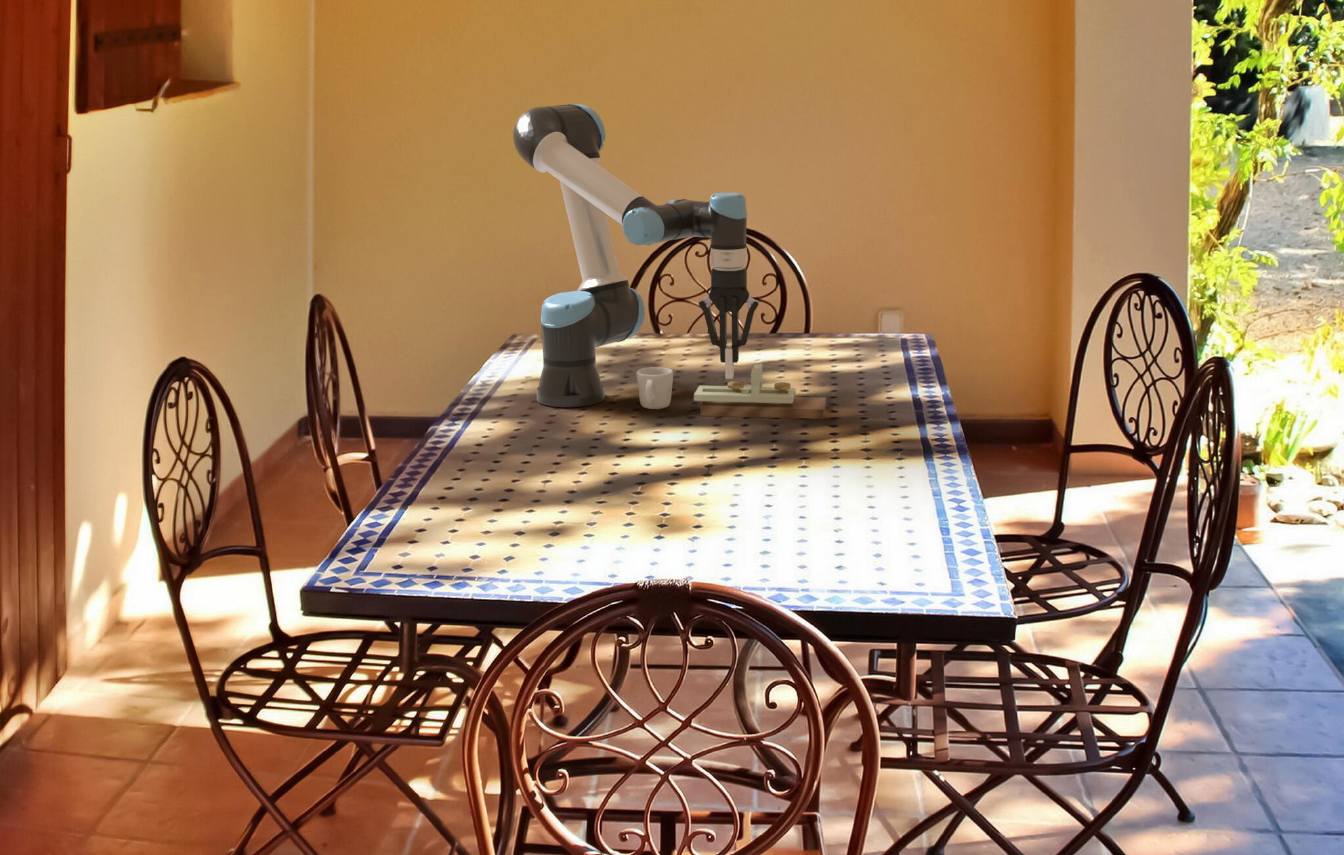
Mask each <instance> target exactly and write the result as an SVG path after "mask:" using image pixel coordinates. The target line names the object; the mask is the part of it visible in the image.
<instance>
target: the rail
mask: <svg viewBox="0 0 1344 855" xmlns="http://www.w3.org/2000/svg"><path fill="white" fill-rule="evenodd" d="M727 386H728V388H732V392H734V393H740V388H743V387H745V384H744V382H743V381H739V380H738V381H737V380H736V381H729V382H727ZM773 387H774V388H775V389H778V390H779V394H786V390H788V389H790V388H791V383H789V382H783V381H782V382H775V383H774V386H773ZM699 408H700V413H699V414H700V416H705V417H706V416H707V417H708V416H709V417H711V416H713V417H737V418H738V417H740V418H741V417H743V418H745V417H747V418H748V417H749V418H777V419H779V418H780V419H781V418H782V419H783V418H784V419H816V420H817V419H818V420H819V419H820V420H823V419H824V416H825V412H826V408H827V398H826V397H812V396H811V397H807V396H806V397H805V396H795V398H794V401H793V403H756V402H717V401H701V405H700V407H699Z"/></svg>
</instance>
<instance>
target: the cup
mask: <svg viewBox="0 0 1344 855" xmlns="http://www.w3.org/2000/svg"><path fill="white" fill-rule="evenodd" d="M636 381H637V388H638V398H639V403H640V405H641V406H642V408H645V409H649V410H660V409H665V408H667V407H669V406H670V404H671V401H672V393H673V391H672V389H673V381H674V371H673V369H671V368H669V367H663V366H662V367H661V366H651V367H650V366H649V367H643V368H640V369H638V370H637V371H636Z"/></svg>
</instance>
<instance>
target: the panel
mask: <svg viewBox="0 0 1344 855" xmlns="http://www.w3.org/2000/svg"><path fill="white" fill-rule="evenodd" d="M796 390H797V389H796V387H790V389H788V390H786V394H779V390H778V389H775V388H774V386H763V363H754V365H753V367H752V369H751V371H750V386H744V387H743V388H740V393H734V392H732V388H728V385H699V384H698V387H697V389H696V390H695V391H694V394H693V401H694V402H703V401H717V402H756V403H793V401H794V398H795V397H796V393H797V392H796Z"/></svg>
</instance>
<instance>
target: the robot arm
mask: <svg viewBox="0 0 1344 855" xmlns="http://www.w3.org/2000/svg"><path fill="white" fill-rule="evenodd" d="M512 139H513V140H512V141H513V145H514V148H515V150H516V151H517V153H518V155H519V157H520V158H521V159H523V160H524V162H525V163H527V165H529V166H530V167H532V168H533V169H534V170H536V171H537V172H539V173H548V174H550V175H551V176H552V177H554V178H556V179H557V180H558V181H559V183H560V188H561V192H562V198H563V201H564V206H565V211H566V215H567V219H568V223H569V228H570V232H571V236H572V241H573V244H574V249H575V254H576V259H577V263H578V267H579V271H580V277H581V279H582V281H581V283H580V285H579V286H578V288H577V290H571V291H567V292H566V291H565V292H564V291H563V292H559V293H556V294H553V295H550V296H549V297H547V298H546V299H544V300H543V302H542V305H541V315H540V323H541V340H542V344H541V345H542V359H543V362H542V364H543V365H542V366H543V367H542V370H541V374H540V378H539V382H538V387H537V388H536V401H537V402H538V403H539V404H540V405H544V406H548V407H555V408H578V407H587V406H591V405H592V406H593V405H595V404H599V403H601V402H603V401H604V400H605V399H606V398H605V396H606V395H605V394H606V392H605V391H606V390H605V386H604V384H602V381H601V377H600V376H601V375H600V373H599V372H600V371H599V370H598V367H597V358H596V357H597V356H596V354H597V353H596V348H599V347H602V346H606V345H610V344H611V345H612V344H615V343H620V342H624V341H626V340H627V339H631V338H633V337H634V336H636V335H637V334H638V332H639V331H640V330H641V328H642V326H643V325H644V321H645V315H646V307H645V303H644V300H643V298H642V296H641V294H639V293H638V292H637V290H635V289H634V288H631V287H630V283H629V279H628V277H626V276H624V275H623V274H621V272H620V270H619V264H618V260H617V257H616V252H615V247H614V244H613V239H612V233H611V230H610V224H609V221H608V217H609V218H612V219H613V220H614V221H616V222H617V223H618V224H620V225H621V228H622V231H623V234H624V235H625V237H626V240H627V241H628V242H629V243H631V244H633V245H635V246H652V245H655V244H659V243H664V242H667V241H668V242H669V241H673V240H679V239H684V238H690V237H693V238H694V237H695V238H697V237H698V238H708V239H710V266H711V267H712V268H711V270H710V290H709V292H708V296H706V297H705V298H702V299H700V301H698V306H699V308H700V309H701V311H702V312H703V316H704V318H705V323H706V327H707V331H708V335H709V339H710V342H711V345H712V346H716V347H718V348H719V355H720V356H719V357H720V359H719V361H720V363H722V364H723V363H724V367H725V368H724V369H725V372H724V373H725V374H724V375H725V377H724V378H725V380H733V378H734V377H735V375H734V374H735V369H734V368H735V364H737V363H738V362H739V359H740V358H739V357H740V352H739V351H740V347H742V346H743V347H744V346H746V345H747V343H748V339H749V335H750V331H751V327H752V323H753V319H754V314H755V311H756V310H757V308H758V306H759V305H760V300H758V299H755V298H753V297H751V296H750V291H749V290H748V287H747V286H748V280H747V279H748V277H747V276H748V270H747V269H746V268H745V267H746V266H747V264H748V263H747V262H748V257H747V254H748V252H747V249H748V248H747V224H748V221H747V220H748V213H747V201H746V196H745V195H744V194H743V193H739V192H715V193H713V194H711V195H710V198H709V201H701V200H690V199H687V198H681V199H671V200H669V201H667V202H666V203H664V204H655V203H654V202H652V201H651V200H649V198H646V197H644V196H643V195H642V194H640V193H639V192H637V191H636V190H635V189H634V188H632V187H630V185H628V184H627V183H625V182H624V181H622V180H621V179H620V178H618V177H616V176H615V175H614V174H612V173H611V172H609V171H608V170H606V169H605V168H604V167H602V166H601V165H599V163H600V162H601V160H602V159H601V156H600V151H602V149H603V147H604V142H605V141H606V129H605V126H604V123H603V120H602V118H601V117H600V115H599V114H598V113H597V112H596V111H595V110H594V109H592V108H591V107H590V106H588V105H584V104H574V103H568V104H561V105H560V104H559V105H550V106H536V107H533V108H532V107H531V108H530V109H527V110H526V111H524V112H523V113H522V114H521V115H520V116H519V117H518V118H517V120H516V122H515V124H514V126H513V130H512ZM607 216H608V217H607ZM745 303H747V305H746V307H747V308H748V311H747V312H746V313H747V314H746V319H745V321H744V326H743V330H742V334H741V339H740V325H739V324H740V322H739V321H740V318H739V317H740V310H741V309H742V308H743V306H744V305H745ZM712 304H713V305H714V306H715V308H716V309H717V311H718V315H719V336H718V332H717V330H716V329H717V328H716V326H715V321H714V317H713V316H714V315H713V313H712V309H711V306H712ZM728 312H729V313H731V314H730V315H731V345H728V331H727V330H728V322H727V321H728V320H727V319H728V318H727V316H728V315H727V314H728Z"/></svg>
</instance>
